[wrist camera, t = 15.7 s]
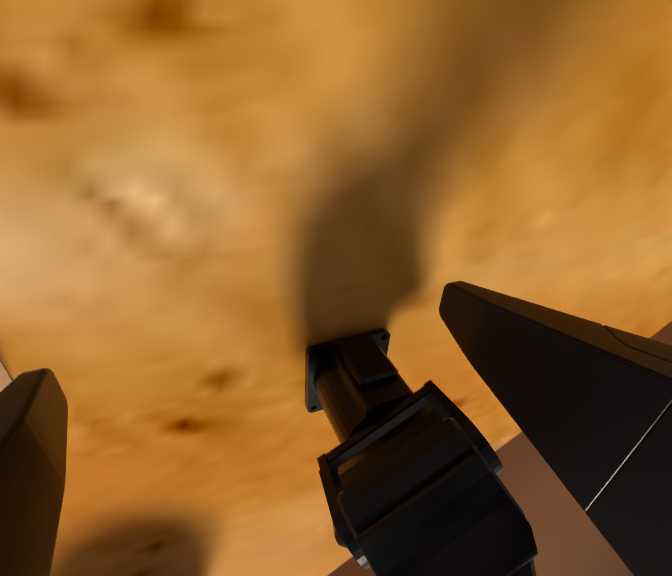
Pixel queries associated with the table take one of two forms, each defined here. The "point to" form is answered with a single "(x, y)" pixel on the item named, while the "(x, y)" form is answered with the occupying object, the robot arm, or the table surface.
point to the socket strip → (4, 377)
